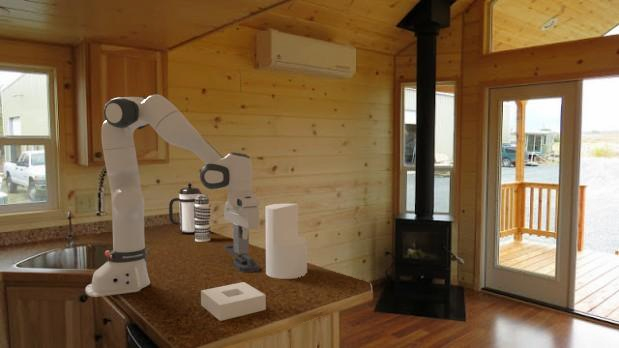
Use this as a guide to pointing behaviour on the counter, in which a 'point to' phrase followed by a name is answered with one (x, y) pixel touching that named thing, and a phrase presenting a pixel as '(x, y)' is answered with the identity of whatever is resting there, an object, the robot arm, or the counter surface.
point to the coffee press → (185, 208)
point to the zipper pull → (242, 260)
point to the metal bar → (240, 240)
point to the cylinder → (284, 243)
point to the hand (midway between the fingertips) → (240, 237)
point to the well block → (233, 300)
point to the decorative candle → (202, 218)
